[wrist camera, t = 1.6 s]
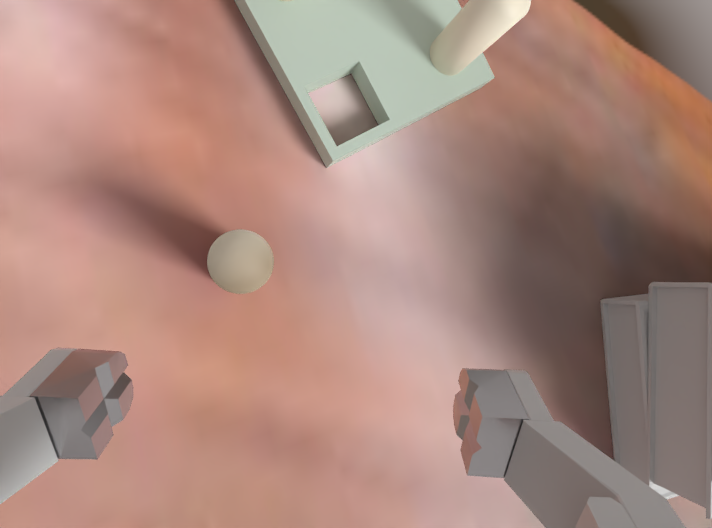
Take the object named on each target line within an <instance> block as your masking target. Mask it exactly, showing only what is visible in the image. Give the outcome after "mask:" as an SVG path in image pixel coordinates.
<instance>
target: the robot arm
mask: <svg viewBox="0 0 712 528" xmlns="http://www.w3.org/2000/svg"><path fill="white" fill-rule="evenodd" d="M127 366H128V363H127V360H126V356H125V354H124V353H122V352H119V351H105V350H91V349H71V348H56V349H52V350H50V351H49V352H48V353H47V354H46V355H45V356H44V357H43V358H42V359H41V360H40V361H39V362H38V363H37V364H36V365H35V366H34V367H33V368H31V369H30V370H29V371H28V372H27V373H26V374H25V375H24V376H23V377H22V378H21V379H20V380H19V381H18V382H17V383H16V384H15V385H14V386H13V387H11V388H10V389H9V390H8V391H7V392H6V393H5V394H4V395H3V396H0V504H1V503H3V502H4V501H5V500H7V499H8V498H9V497H11V496H12V495H13V494H15V493H16V492H17V491H19V490H20V489H21V488H23V487H24V486H25V485H27V484H28V483H29V482H31V481H32V480H33V479H35V478H36V477H37V476H39V475H40V474H41V473H43V472H44V471H46V470H47V469H48V468H50V467H51V466H52V465H54V464H55V463H56V462H58V459H98V458H99V456H100V455H101V453H102V452H103V450H104V449H105V447H106V446H107V444H108V443H109V441H110V440H111V438H112V436H113V430H112V426H114V425H115V424H117V423H119V422H120V421H122V420H123V419H124V418H125V416H126V414H127V413H128V411H129V410H130V406H131V403H132V400H133V384H132V380H131V379H130V378H129V377H128V376H127V375H126V374H125V373H124V370H125V369H126V368H127ZM458 381H459V385H460V388H461V391H459V392H458V393H457V394H456V395H455V400H454V406H453V418H454V426H455V430H456V434H457V435H458V436H459V437H460V438H461V439H462V440H463V442H462V446H461V454H462V458H463V461H464V465H465V469H466V473H467V475H468V476H482V477H496V478H505V479H504V480H505V482H506V483H507V484H508V485H509V486H510V487H511V488H512V490H513V491H514V492H515V493H516V494H517V495H518V496H519V498H520V499H521V500H522V501H523V502H524V503H525V504H526V506H527V507H528V508H529V509H530V510H531V511H532V512H533V514H534V515H535V516H536V517H537V518H538V519H539V520H540V522H541V523H542V524H543V525H544V526H545V527H546V528H686V527H685V526H684V524H683V523H682V521H681V520H680V518H679V517H678V516H677V514H676V513H675V511H674V510H673V508H672V507H671V505H670V504H669V502H668V501H667V500H666V498H664V497H663V496H662V495H660V494H659V493H658V492H656V491H655V490H653V489H652V488H651V487H649V486H648V485H647V484H645V483H644V482H642V481H641V480H640V479H638V478H637V477H636V476H634V475H633V474H631V473H630V472H629V471H627V470H626V469H625V468H623V467H622V466H621V465H619V464H618V463H616V462H615V461H614V460H612V459H611V458H610V457H608V456H607V455H605V454H604V453H603V452H601V451H600V450H599V449H597V448H596V447H595V446H593V445H592V444H590V443H589V442H588V441H586V440H585V439H584V438H582V437H581V436H579V435H578V434H577V433H575V432H574V431H573V430H571V429H570V428H568V427H567V426H566V425H564V424H563V423H562V422H559V421H554V420H553V418H552V416H551V415H550V413H549V411H548V409H547V407H546V405H545V404H544V402H543V400H542V398H541V396H540V394H539V392H538V391H537V389H536V387H535V385H534V383H533V381H532V379H531V378H530V376H529V374H528V372H526V371H525V370H492V369H469V368H463V369H462V370H461V372H460V376H459V380H458Z"/></svg>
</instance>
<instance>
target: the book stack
mask: <svg viewBox="0 0 712 528" xmlns="http://www.w3.org/2000/svg"><path fill="white" fill-rule="evenodd" d="M600 305H601V317H602V328H603V340H604V352H605V363H606V375H607V387H608V398H609V410H610V421H611V432H612V443H613V453H614V461H615V462H616V463H618V464H619V465H621V466H622V467H623V468H625V469H626V470H627V471H629V472H630V473H631V474H633V475H634V476H636V477H637V478H638V479H640V480H641V481H642V482H644V483H645V484H647V485H648V486H649V487H651V488H652V489H653V490H655V491H656V492H658V493H659V494H660V495H662V496H663V497H664V498H666V500H667V499H670V498H673V497H676V496H681V497H684V498H686V499H688V500H690V501H692V502H694V503H696V504H698V505H700V506H703V507H705V508H706V518H708V519H712V283H709V282H652V283H650V285H649V293H648V294H640V295H632V296H624V297H615V298H607V299H602V300H601V302H600Z"/></svg>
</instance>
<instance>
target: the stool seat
mask: <svg viewBox="0 0 712 528" xmlns="http://www.w3.org/2000/svg"><path fill="white" fill-rule="evenodd" d="M234 1H235V3H236V5H237V6H238V8H239V10H240V12H241V14H242V15H243V17H244V19H245V21H246V23H247V25H248V26H249V28H250V30H251V32H252V34H253V35H254V37H255V39H256V41H257V43H258V44H259V46H260V48H261V50H262V52H263V54H264V55H265V57H266V59H267V61H268V63H269V64H270V66H271V68H272V70H273V72H274V73H275V75H276V77H277V79H278V81H279V83H280V84H281V86H282V88H283V90H284V92H285V93H286V95H287V97H288V99H289V101H290V102H291V104H292V106H293V108H294V110H295V112H296V113H297V115H298V117H299V119H300V121H301V122H302V124H303V126H304V128H305V130H306V131H307V133H308V135H309V137H310V139H311V141H312V142H313V144H314V146H315V148H316V150H317V151H318V153H319V155H320V157H321V159H322V160H323V162H324V164H325V166H326V168H328V167H329V166H331V165H333V164H335V163H337V162H339V161H341V160H343V159H345V158H347V157H349V156H351V155H353V154H355V153H356V152H358V151H360V150H362V149H364V148H366V147H368V146H370V145H372V144H374V143H376V142H378V141H380V140H382V139H383V138H385V137H387V136H389V135H391V134H393V133H395V132H397V131H399V130H401V129H403V128H405V127H407V126H408V125H410V124H412V123H414V122H416V121H418V120H420V119H422V118H424V117H426V116H428V115H430V114H432V113H434V112H435V111H437V110H439V109H441V108H443V107H445V106H447V105H449V104H451V103H453V102H455V101H457V100H459V99H461V98H462V97H464V96H466V95H468V94H470V93H472V92H474V91H476V90H478V89H480V88H481V87H483V86H484V85H486V84H487V83H488V82H490V81H491V80H492V79H494V78H495V77H494V75H493V73H492V71H491V69H490V67H489V64H488V62H487V60H486V58H485V56H484V54H483V52H484V51H485V50H486V49H487V48H488V47H489V46H491V45H492V44H493V43H494V42H495V41H496V40H497V39H499V38H500V37H501V36H502V35H503V34H504V33H505V32H507V31H508V30H509V29H510V28H511V27H512V26H514V25H515V24H516V23H517V22H518V21H519V20H520V19H522V18H523V17H524V16H525V15H526V14H527V12H528V11H529V8H530V4H531V0H469V1H468V3H467V4H466V5H465V6H464V7H463V8H461V6H460V4H459V2H458V0H234ZM349 74H352V76H353V78H354V79H355V81H356V83H357V85H358V87H359V89H360V91H361V93H362V95H363V97H364V98H365V100H366V102H367V104H368V106H369V108H370V110H371V112H372V114H373V116H374V117H375V119H376V121H377V123H378V126H376V127H374V128H372V129H370V130H368V131H366V132H364V133H362V134H360V135H358V136H356V137H355V138H353V139H351V140H349V141H347V142H345V143H343V144H341V145H339V146H336V144H335V142H334V140H333V138H332V136H331V135H330V133H329V131H328V129H327V127H326V125H325V124H324V122H323V120H322V118H321V116H320V114H319V113H318V111H317V109H316V107H315V105H314V103H313V102H312V100H311V98H310V96H309V94H308V93H309V92H311V91H314V90H316V89H318V88H320V87H323V86H325V85H327V84H329V83H331V82H334V81H336V80H338V79H340V78H342V77H345V76H347V75H349Z"/></svg>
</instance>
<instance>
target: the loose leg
mask: <svg viewBox="0 0 712 528" xmlns="http://www.w3.org/2000/svg"><path fill="white" fill-rule="evenodd" d="M207 266H208V271H209V273H210V276H211V277H212V279H213V280H214V282H215V283H216V284H217V285H218V286H219V287H221V288H222V289H224V290H226V291H228V292H231V293H236V294H245V293H250V292H253V291H255V290H257V289H259V288H260V287H262V286H263V285H264V284H265V283H266V282H267V281H268V279H269V278H270V276H271V274H272V271H273V266H274V257H273V253H272V250H271V248H270V246H269V244H268V243H267V242H266V241H265V239H263V238H262V237H261V236H260V235H258V234H256V233H254V232H252V231H248V230H232V231H229V232H226V233H224V234H223V235H221V236H220V237H218V238H217V239H216V240H215V241H214V243H213V244H212V246H211V248H210V250H209V253H208V257H207Z"/></svg>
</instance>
